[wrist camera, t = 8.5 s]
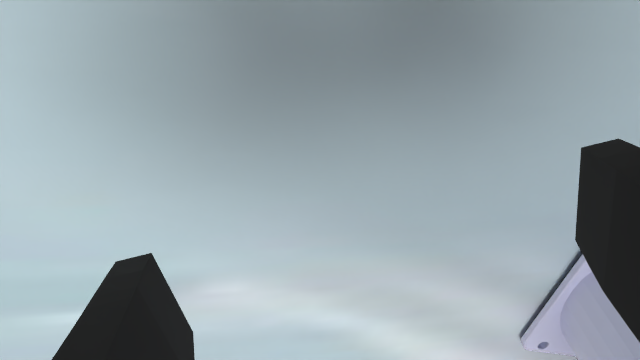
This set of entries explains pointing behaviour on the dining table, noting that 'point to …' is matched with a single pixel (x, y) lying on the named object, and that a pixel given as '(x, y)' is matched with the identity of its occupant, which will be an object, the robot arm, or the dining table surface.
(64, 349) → the robot arm
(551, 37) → the dining table surface
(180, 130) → the dining table surface
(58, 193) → the dining table surface
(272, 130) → the dining table surface
